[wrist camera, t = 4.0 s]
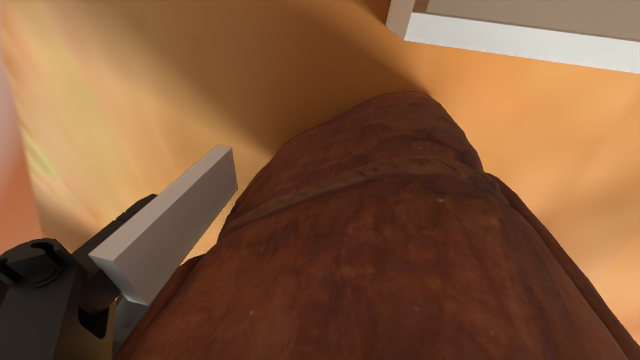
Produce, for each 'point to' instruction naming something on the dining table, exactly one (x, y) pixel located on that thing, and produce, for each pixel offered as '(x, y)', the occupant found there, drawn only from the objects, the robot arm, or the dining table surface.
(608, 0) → the display plinth
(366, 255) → the wooden figurine
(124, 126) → the dining table surface
